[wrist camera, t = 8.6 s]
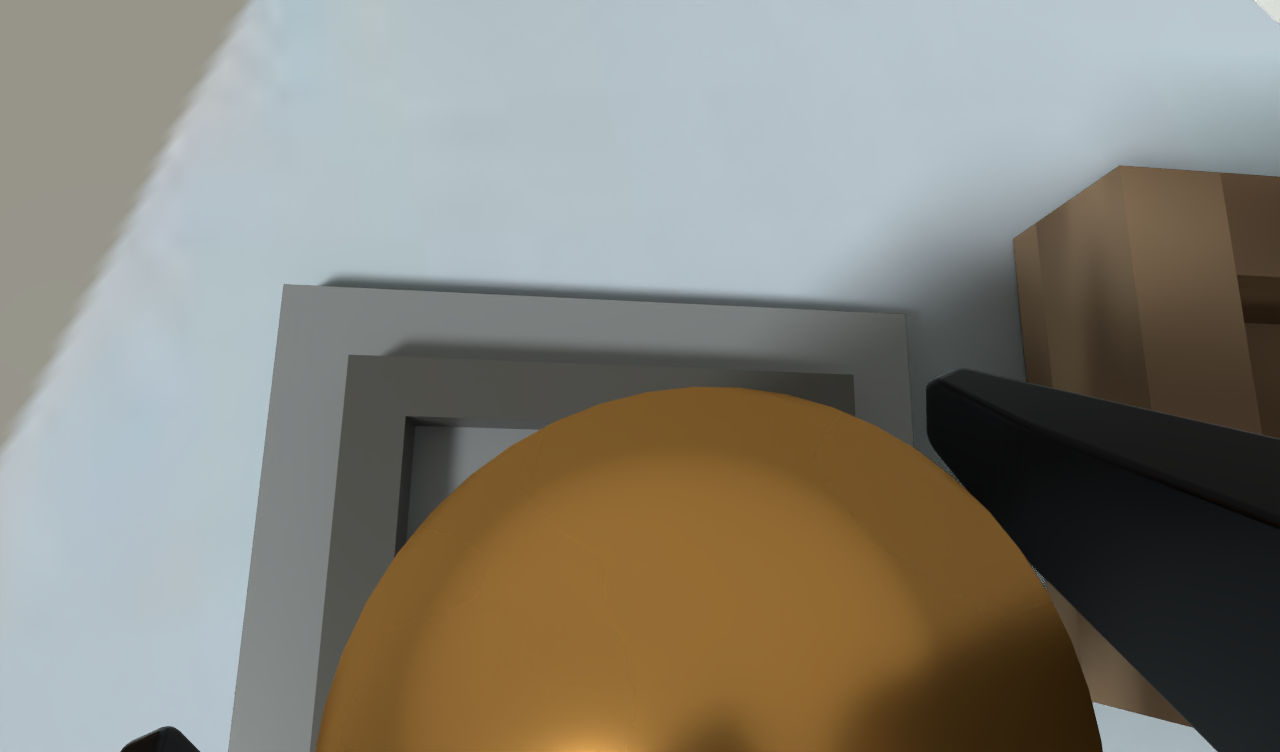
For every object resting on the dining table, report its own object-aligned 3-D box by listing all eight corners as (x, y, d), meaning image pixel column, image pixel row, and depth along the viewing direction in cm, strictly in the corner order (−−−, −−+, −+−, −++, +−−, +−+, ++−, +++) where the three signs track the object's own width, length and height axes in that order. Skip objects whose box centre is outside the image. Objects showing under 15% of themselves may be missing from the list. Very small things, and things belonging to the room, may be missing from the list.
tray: (925, 975, 17) (980, 1035, 15) (217, 1004, 15) (163, 1076, 13) (887, 326, 20) (928, 298, 18) (297, 298, 18) (264, 264, 16)
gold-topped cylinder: (755, 705, 17) (1240, 1037, 5) (520, 799, 16) (447, 1469, 4) (674, 473, 18) (927, 298, 6) (447, 551, 17) (217, 526, 5)
